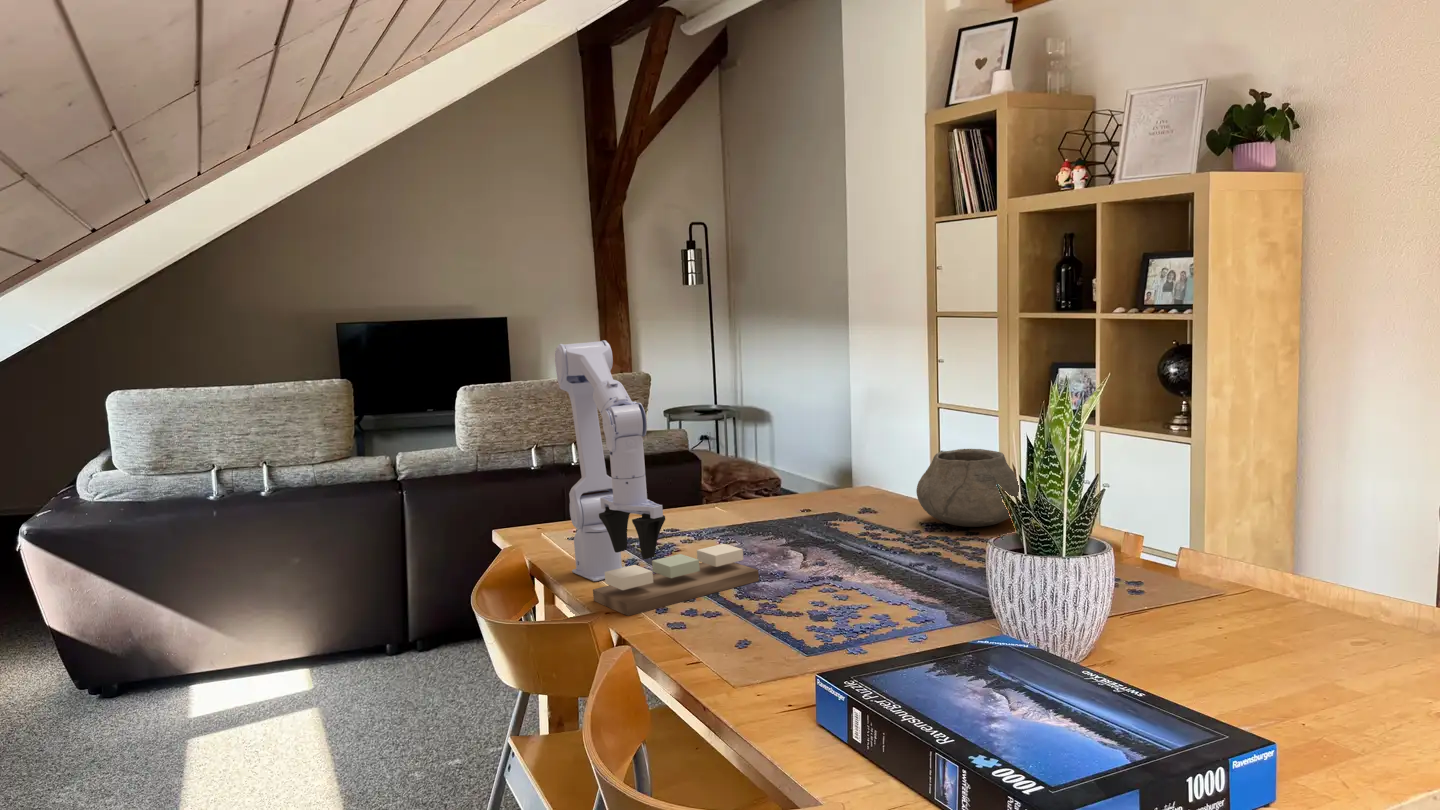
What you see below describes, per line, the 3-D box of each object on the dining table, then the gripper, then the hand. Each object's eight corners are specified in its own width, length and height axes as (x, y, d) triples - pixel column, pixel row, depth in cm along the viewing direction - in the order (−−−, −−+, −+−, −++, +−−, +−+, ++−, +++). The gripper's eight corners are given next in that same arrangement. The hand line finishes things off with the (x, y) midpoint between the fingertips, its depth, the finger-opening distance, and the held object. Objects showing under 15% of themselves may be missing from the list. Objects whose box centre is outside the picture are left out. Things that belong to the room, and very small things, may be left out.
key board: (593, 600, 181) (592, 589, 181) (720, 568, 196) (720, 558, 196) (628, 616, 171) (627, 604, 171) (759, 580, 187) (758, 569, 186)
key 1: (605, 583, 179) (604, 571, 179) (635, 575, 182) (634, 564, 182) (622, 590, 174) (621, 578, 174) (653, 582, 177) (652, 571, 177)
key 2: (697, 560, 190) (696, 550, 189) (724, 554, 193) (723, 543, 193) (716, 566, 185) (715, 555, 184) (743, 559, 188) (742, 549, 188)
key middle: (652, 571, 184) (651, 560, 184) (681, 564, 188) (680, 553, 187) (670, 578, 179) (669, 566, 179) (699, 570, 183) (698, 559, 183)
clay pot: (1022, 511, 226) (1019, 443, 224) (1028, 536, 205) (1025, 461, 203) (920, 513, 231) (917, 446, 229) (915, 537, 210) (912, 464, 208)
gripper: (583, 475, 178) (590, 553, 180) (636, 484, 168) (643, 566, 169) (616, 469, 183) (622, 544, 185) (670, 476, 172) (675, 556, 174)
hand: (634, 554), depth 177 cm, fingers open, 7 cm apart
